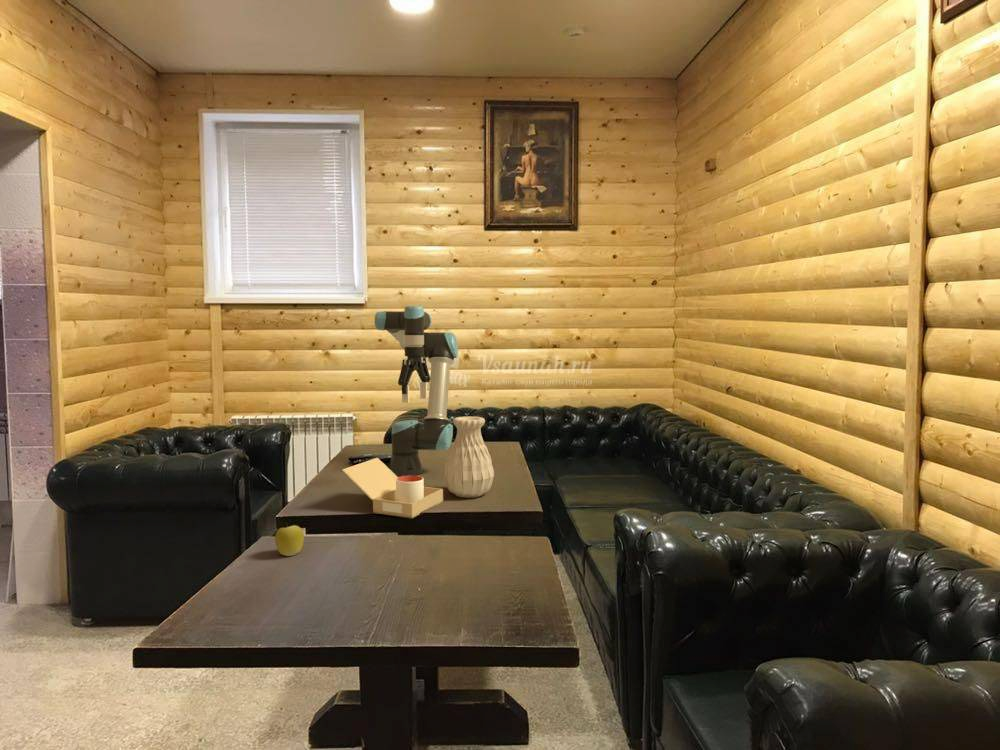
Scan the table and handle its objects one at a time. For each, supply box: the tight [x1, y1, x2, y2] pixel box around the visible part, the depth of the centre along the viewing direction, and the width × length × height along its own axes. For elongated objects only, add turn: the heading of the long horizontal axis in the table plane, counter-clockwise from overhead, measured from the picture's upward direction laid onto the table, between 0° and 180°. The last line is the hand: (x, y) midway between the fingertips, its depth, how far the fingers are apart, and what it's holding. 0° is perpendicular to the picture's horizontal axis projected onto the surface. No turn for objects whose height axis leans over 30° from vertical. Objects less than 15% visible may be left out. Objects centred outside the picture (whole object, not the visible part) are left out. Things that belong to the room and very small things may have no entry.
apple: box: [274, 522, 305, 557], centre depth 194 cm, size 8×8×10 cm
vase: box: [443, 415, 495, 499], centre depth 259 cm, size 20×20×30 cm
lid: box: [341, 457, 399, 501], centre depth 247 cm, size 22×16×1 cm
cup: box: [396, 475, 425, 503], centre depth 242 cm, size 10×10×10 cm
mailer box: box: [372, 486, 444, 519], centre depth 242 cm, size 22×16×5 cm
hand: (414, 400), depth 259 cm, fingers open, 13 cm apart
